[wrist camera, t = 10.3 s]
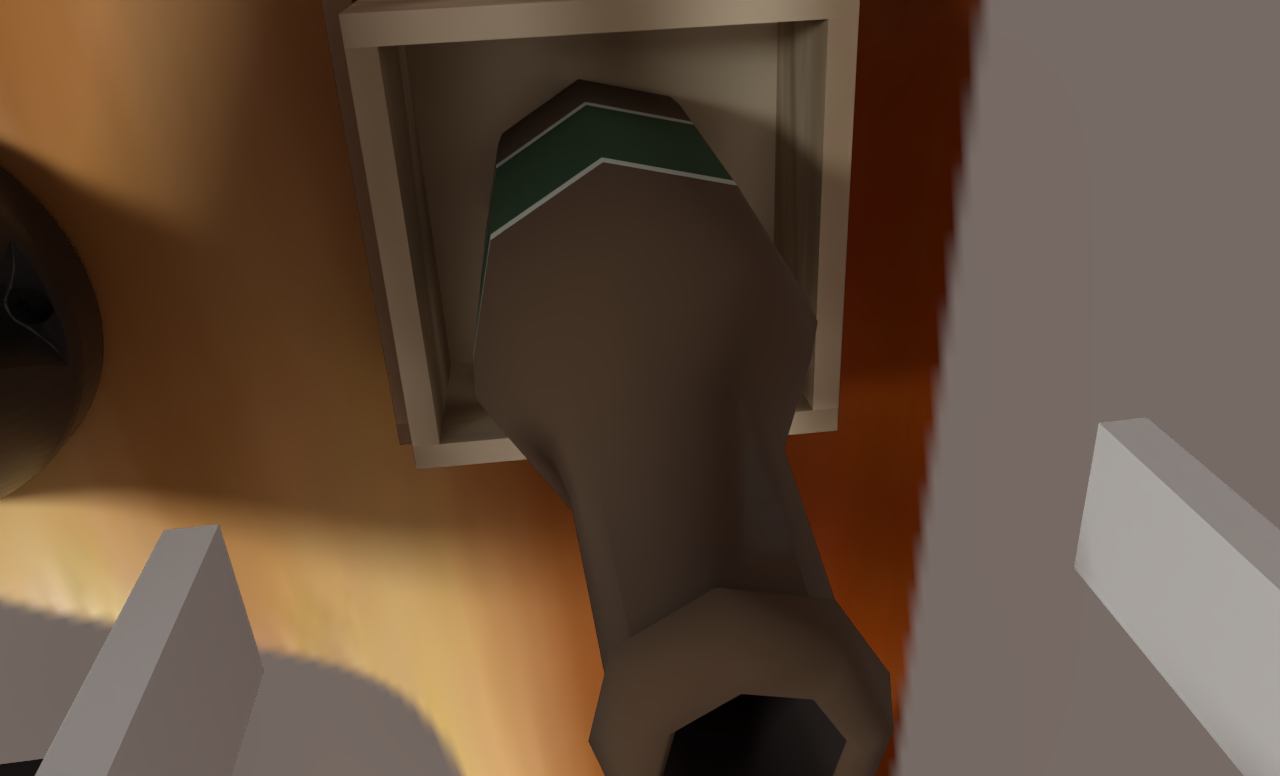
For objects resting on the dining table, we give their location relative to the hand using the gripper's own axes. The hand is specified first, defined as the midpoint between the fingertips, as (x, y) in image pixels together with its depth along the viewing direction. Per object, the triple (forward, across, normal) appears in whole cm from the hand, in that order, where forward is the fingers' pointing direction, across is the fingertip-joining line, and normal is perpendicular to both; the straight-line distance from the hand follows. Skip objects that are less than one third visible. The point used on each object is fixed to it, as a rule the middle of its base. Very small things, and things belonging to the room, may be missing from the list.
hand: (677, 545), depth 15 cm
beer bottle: (+20, 0, 0) cm, 20 cm away
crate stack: (+24, +1, 0) cm, 24 cm away
